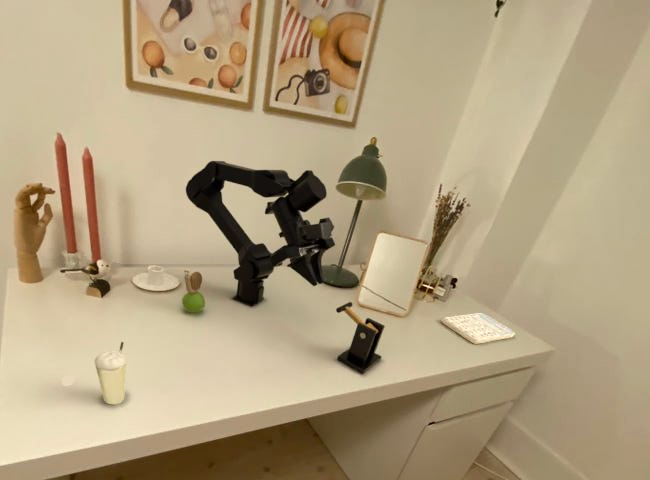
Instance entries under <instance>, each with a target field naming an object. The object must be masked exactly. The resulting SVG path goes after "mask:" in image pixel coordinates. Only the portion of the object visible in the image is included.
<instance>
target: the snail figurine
mask: <svg viewBox="0 0 650 480" xmlns="http://www.w3.org/2000/svg"><path fill="white" fill-rule="evenodd" d="M183 271H184V280H185V288H186V291H187V292H186V293H185V294H184V295H183V297H182V300H181V301H182V302H181V303H182V306H183V308H184V309H185V310H186V311H187V312H188V313H191V314H197V313H200V312H202V311H203V309H204V308H205V306H206V299H205V297H204V295H203V294H202V293H201V292H199V291H200V289H201V285H202V282H203V275H202V273H201V272H199V271H195V272H193V273H191V275H190V270H187V269H184V270H183Z"/></svg>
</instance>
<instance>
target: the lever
mask: <svg viewBox="0 0 650 480" xmlns="http://www.w3.org/2000/svg"><path fill="white" fill-rule="evenodd" d="M353 306H354V305H353V302H351V301H348V302H347V303H344V304H342V305H341V306H338V307H336V309H335V311H336V313H339V314H340V313H342V312H344V313H345V314H346V315H347V316H348V317H349V318H350V319H351V320H352V321H353V322H354V323H355V324H357V325H358V323H361V324H364V325H366V324H365V321H363V320H362V319H361V317H359V316H358V315H357V314H356V313H355V312H354V311H353V310H352V309H351V308H352V307H353ZM366 326H368V327H370V328H372V329H374V330H376V331H377V332H378V330H377V329H376V328H375V327H374V326H373V325H372V324H371V323H368V324H367V325H366ZM377 332H376V334H377Z"/></svg>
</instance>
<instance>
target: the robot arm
mask: <svg viewBox="0 0 650 480" xmlns="http://www.w3.org/2000/svg"><path fill="white" fill-rule="evenodd" d="M225 182H229V183H232V184H236V185H240V186H243V187H247V188H250V189H251V190H252V192H253V193H255V194H257V195H259V196H261V197H263V198H265V199H266V198H277V199H275V200H274V201H267V203H266V207H265V210H264V214H265V215H274V219H275V220H276V222H277V225H278V226H279V229H280V231H281V232H279V233H278V236H279V238H280V239H281V238H282V239H283V238H284V240H285V242H286V244H285V245H283V246H281V247H279V248H278V249H276V250H275V251H274V252H271V251H269V249H268V247H267V245H266V244H264V243H263V242H261V243H254V242H253V241H252V239H251V238H250V237H249V236H248V234H247V233H246V232H245V230H244V229H243V228H242V226H241V225H240V224H239V222H238V221H237V220H236V218H235V216H234V215H233V214H232V213H231V211H230V210H229V209H228V207H227V206H226V204H224V202H223V192H222V190H223V189H224V187H225ZM185 193H186V197H187V198H188V199H187V200H189V201H190V202H191V203H192V204H193V205H194V206H195V207H196V208H198V209H199V210H201V211H203V212H204V213H207V215H208V216H209V217H210V218H211V220H212V221H213V222H214V224H215V225H216V226H217V228H218V229H219V231H220V232H221V233H222V235H223V237H224V238H225V239H226V240H227V241H228V243H229V244H230V245H231V247H232V248H233V250H234V251H235V252H236V254H237V258H238V261H237V262H238V265H239V266H238V267H236V268H235V269H234V270H233V271H232V272H233V278H234V279H235V280H236V281H237V287H236V294H235V295H234V296H233V297H232V299H233V300H235V301H238V302H240V303H243V304H245V305H248V306H250V307H254V306H256V305H257V304H259V303H261V302H262V301H264V299H265V298H264V292H265V286H264V283H265V280H266V279H267V280H268V278H269V276H271V275H272V273H273V272H274V270H275V268H277V267H281V266H283V263H284V262H285V261H286V260H289V262H290V263H288V264H287V265H286V267H287V268H290V269H292V270H293V271H294V272H296V274H298V275H299V276H301V277H302V278H303V279H304V280H306V282H308V283H309V285H311V286H312V287H316V286H317V285H318V284H319V285H321V284H323V283H324V275H323V266H322V265H323V264H322V260H323V259H322V258H323V256H324V253H326V252H327V251H328V250H330V249H332V248H333V247H335V246H336V243H335V240H334V238H333V237H332V236H333V234H332V232H333V230H334V229H335V225H334V223H333V221H332V220H331V218H330V217H324V218H323V217H322V218H319V221H318V223H314V224H311V222H310V221H309V220H308V219H305V220H304V218H303V216H302V214H301V212H302V213H307V212H308V211H310V210H311V209H312V208H315V206H317V205H318V204H319V203H321V202H322V201H323V200H325V199H326V198H327V194H328V193H327V188H326V185H325V184H324V183H323V182H322V180H321V179H320V178H319V177H318V176H317V175H315V174H314V171H313V170H312V169H311V170H310V169H306V170H305V171H304V172H302V174H301V175H300V176H299V177H298V178H297V179H296V180H295V179H293V178H291V177H290V176H289V173H288V172H287V171H286V170H284V169H254V168H249V167H245V166H241V165H237V164H234V163H228V162H226V161H224V160H210V161H209V162H207V164H205V166H204V168H202V169H201V170H199V171H198V172H197V173H195V174H194V175H193V176H192V177H191V178H190V179H189V180H188V181H187V183H186V186H185Z"/></svg>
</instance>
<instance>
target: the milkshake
mask: <svg viewBox="0 0 650 480" xmlns="http://www.w3.org/2000/svg"><path fill="white" fill-rule="evenodd" d="M124 343H125V342H124V341H120V345H119V351H114V350H107V351H104V352H102V353H99V354H98V355H97V356H96V357H95V358H94V365H95V366H94V367H95V369H96V374H97V377H98V381H99V386H100V390H101V393H102V398H103V401H104V402H105V404H107V405H113V406H115V405H118V404H121V403H123V402H124V401H125V393H126V392H125V389H126V388H125V386H126V385H125V383H126V380H125V379H126V366H127V358H126V356H125V355H124V354H123V353H122V352H123V348H124V345H125V344H124Z"/></svg>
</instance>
